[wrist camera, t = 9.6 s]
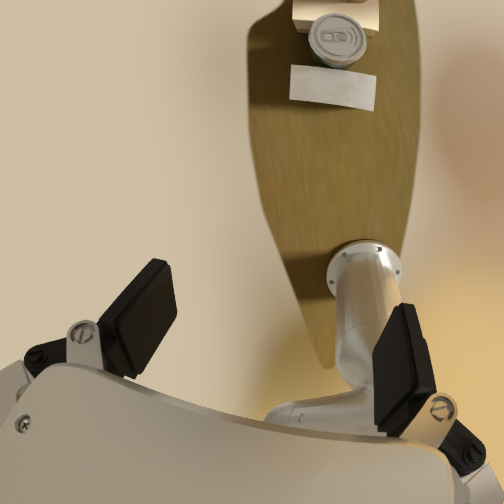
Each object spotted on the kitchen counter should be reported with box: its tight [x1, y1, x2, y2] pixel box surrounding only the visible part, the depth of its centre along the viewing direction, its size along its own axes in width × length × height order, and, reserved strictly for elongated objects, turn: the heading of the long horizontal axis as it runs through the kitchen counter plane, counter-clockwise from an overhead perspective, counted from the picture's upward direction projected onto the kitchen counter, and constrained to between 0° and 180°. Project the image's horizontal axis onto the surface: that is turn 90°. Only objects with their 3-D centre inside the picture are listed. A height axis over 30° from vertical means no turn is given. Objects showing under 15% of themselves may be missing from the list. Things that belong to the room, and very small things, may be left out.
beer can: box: [308, 13, 367, 71], centre depth 23 cm, size 5×5×12 cm
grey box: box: [290, 65, 376, 111], centre depth 28 cm, size 4×9×7 cm, turn 88°
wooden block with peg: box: [292, 0, 379, 42], centre depth 19 cm, size 6×9×14 cm, turn 88°
